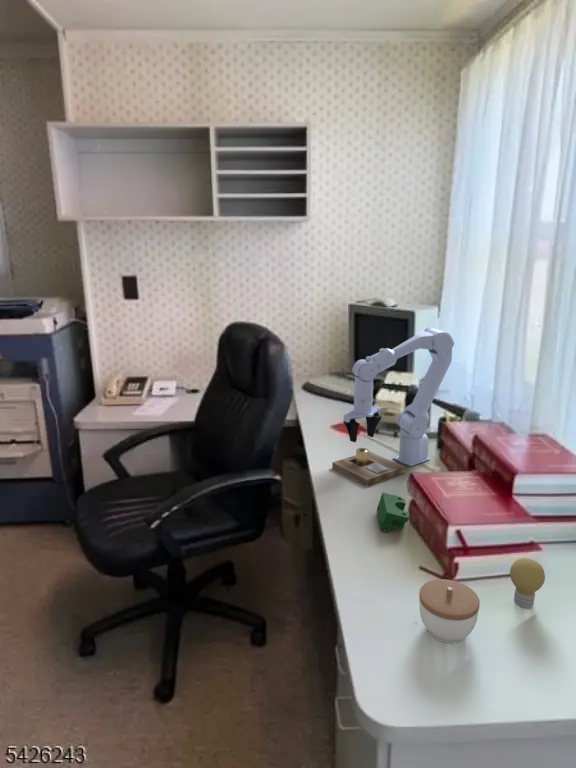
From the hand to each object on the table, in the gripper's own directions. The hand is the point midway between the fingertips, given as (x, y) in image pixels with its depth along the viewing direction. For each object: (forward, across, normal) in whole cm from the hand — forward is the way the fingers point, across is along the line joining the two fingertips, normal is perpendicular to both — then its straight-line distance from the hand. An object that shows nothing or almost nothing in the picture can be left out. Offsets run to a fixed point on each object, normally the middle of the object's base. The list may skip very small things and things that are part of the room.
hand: (361, 438), depth 176 cm
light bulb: (+9, -22, -70) cm, 74 cm away
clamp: (+9, -19, -32) cm, 38 cm away
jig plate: (+9, -1, -5) cm, 10 cm away
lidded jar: (+9, -41, -66) cm, 78 cm away
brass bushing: (+9, -1, -2) cm, 9 cm away
